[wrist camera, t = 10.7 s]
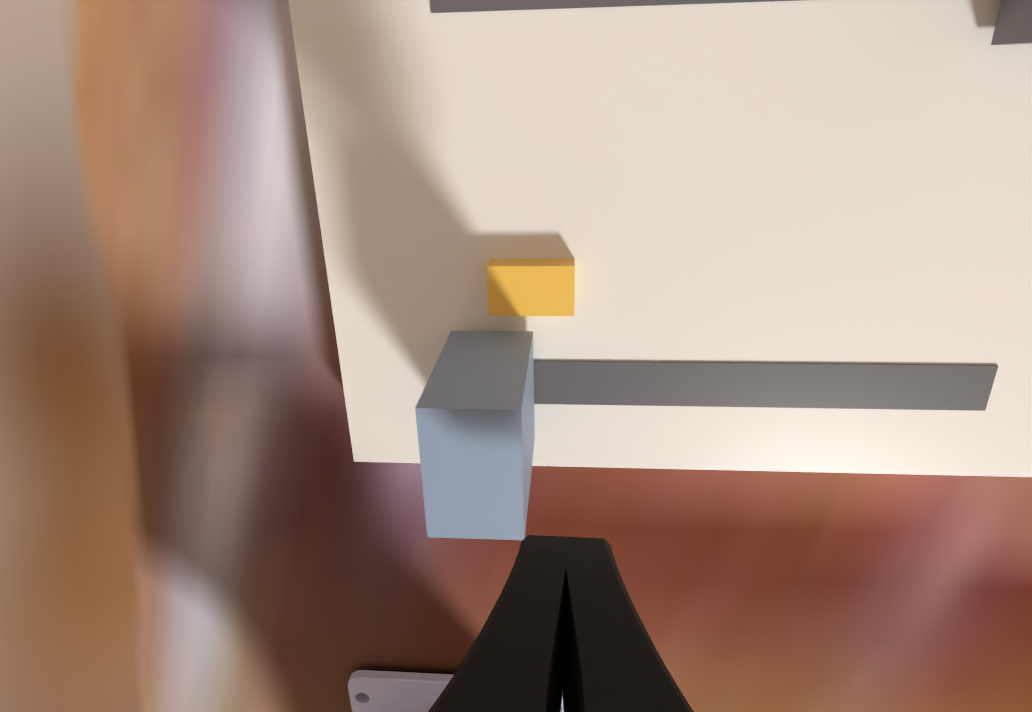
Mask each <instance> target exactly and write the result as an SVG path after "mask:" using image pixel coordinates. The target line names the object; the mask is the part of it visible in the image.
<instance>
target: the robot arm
mask: <svg viewBox="0 0 1032 712" xmlns="http://www.w3.org/2000/svg"><path fill="white" fill-rule="evenodd" d="M348 692H349V697H350V703H351V709H352V712H693V710H692V708H691V707H690V705H689V704H688V702H687V701H686V699H685V697H684V696H683V694H682V693H681V691H680V689H679V688H678V686H677V684H676V683H675V681H674V679H673V678H672V676H671V674H670V673H669V671H668V669H667V668H666V666H665V664H664V662H663V661H662V659H661V657H660V655H659V654H658V652H657V650H656V648H655V646H654V644H653V642H652V641H651V639H650V637H649V635H648V633H647V631H646V629H645V627H644V625H643V623H642V621H641V619H640V618H639V616H638V614H637V611H636V609H635V607H634V605H633V603H632V601H631V599H630V596H629V594H628V592H627V590H626V587H625V585H624V583H623V580H622V578H621V575H620V573H619V570H618V568H617V565H616V562H615V559H614V556H613V553H612V549H611V545H610V544H609V543H608V542H607V541H606V540H605V539H603V538H581V537H558V536H535V535H528V536H527V537H526V538H525V539H523V540H522V542H521V546H520V549H519V553H518V555H517V558H516V561H515V563H514V566H513V568H512V571H511V573H510V575H509V578H508V580H507V582H506V584H505V586H504V588H503V590H502V593H501V595H500V597H499V598H498V600H497V602H496V604H495V606H494V608H493V610H492V612H491V613H490V615H489V617H488V619H487V621H486V623H485V625H484V626H483V628H482V630H481V632H480V634H479V635H478V637H477V639H476V640H475V642H474V643H473V645H472V647H471V648H470V650H469V651H468V653H467V655H466V656H465V658H464V659H463V661H462V663H461V664H460V666H459V667H458V669H457V671H456V672H455V674H434V673H414V672H393V671H373V670H358V671H355V672H353V673H352V674H351V676H350V678H349V681H348Z"/></svg>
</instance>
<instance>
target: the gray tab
mask: <svg viewBox="0 0 1032 712" xmlns="http://www.w3.org/2000/svg"><path fill="white" fill-rule="evenodd" d="M1013 44H1032V0H1001V4H1000V8H999V12H998V16H997V21H996V25H995V29H994V33H993V37H992V42H991V45H1013Z"/></svg>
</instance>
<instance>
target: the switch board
mask: <svg viewBox="0 0 1032 712" xmlns="http://www.w3.org/2000/svg"><path fill="white" fill-rule="evenodd" d="M288 4H289V11H290V18H291V25H292V32H293V39H294V46H295V53H296V60H297V67H298V74H299V81H300V88H301V95H302V102H303V109H304V116H305V123H306V130H307V137H308V144H309V151H310V158H311V165H312V172H313V179H314V186H315V193H316V200H317V207H318V214H319V221H320V228H321V235H322V242H323V249H324V256H325V263H326V270H327V277H328V284H329V291H330V298H331V305H332V312H333V319H334V326H335V333H336V340H337V347H338V354H339V361H340V368H341V375H342V382H343V389H344V396H345V403H346V410H347V417H348V424H349V431H350V438H351V445H352V452H353V459H354V462H391V463H420V454H419V443H418V433H417V423H416V412H415V407H416V405H417V403H418V401H419V399H420V396H421V394H422V392H423V390H424V388H425V386H426V384H427V381H428V379H429V377H430V375H431V373H432V371H433V369H434V366H435V364H436V362H437V360H438V358H439V356H440V354H441V351H442V349H443V347H444V345H445V343H446V341H447V339H448V336H449V334H450V332H451V331H533V357H534V424H535V441H534V451H533V461H532V466H567V467H611V468H655V469H699V470H743V471H787V472H831V473H875V474H919V475H964V476H1008V477H1032V44H1013V45H991V42H992V37H993V33H994V29H995V25H996V21H997V16H998V12H999V8H1000V4H1001V0H288Z"/></svg>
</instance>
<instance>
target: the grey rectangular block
mask: <svg viewBox="0 0 1032 712" xmlns="http://www.w3.org/2000/svg"><path fill="white" fill-rule="evenodd" d="M415 412H416V423H417V433H418V443H419V454H420V464H421V475H422V485H423V495H424V506H425V516H426V527H427V537H439V538H470V539H502V540H523V539H525V530H526V520H527V510H528V500H529V490H530V481H531V471H532V461H533V451H534V441H535V424H534V357H533V331H451V332H450V334H449V336H448V339H447V341H446V343H445V345H444V347H443V349H442V351H441V354H440V356H439V358H438V360H437V362H436V364H435V366H434V369H433V371H432V373H431V375H430V377H429V379H428V381H427V384H426V386H425V388H424V390H423V392H422V394H421V396H420V399H419V401H418V403H417V405H416V407H415Z"/></svg>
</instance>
